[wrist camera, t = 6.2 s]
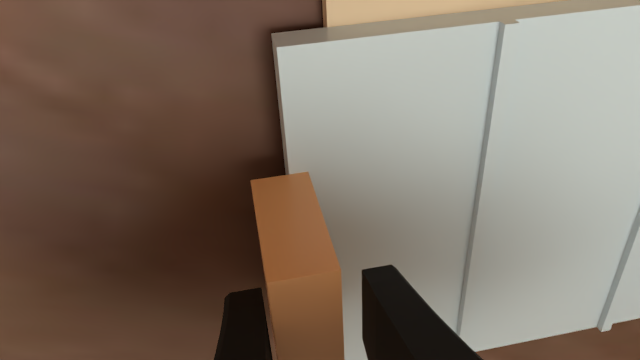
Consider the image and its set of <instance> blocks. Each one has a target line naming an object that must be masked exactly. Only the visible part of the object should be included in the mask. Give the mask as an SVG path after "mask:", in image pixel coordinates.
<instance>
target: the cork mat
mask: <svg viewBox="0 0 640 360" xmlns="http://www.w3.org/2000/svg"><path fill="white" fill-rule="evenodd" d="M558 1H567V0H322V7H323V27H336V26H345V25H354V24H362V23H371V22H380V21H389V20H398V19H407V18H416V17H425V16H433V15H442V14H451V13H460V12H469V11H478V10H487V9H496V8H504V7H513V6H522V5H531V4H540V3H549V2H558ZM638 319H639V318H638ZM633 320H634V319H633ZM628 321H629V320H628ZM623 322H624V321H623ZM618 323H619V322H618ZM613 324H614V323H613ZM594 328H595V327H594ZM589 329H590V328H589ZM584 330H585V329H584ZM579 331H580V330H579ZM574 332H575V331H574ZM545 338H546V337H545ZM540 339H541V338H540ZM535 340H536V339H535ZM491 349H492V348H491Z"/></svg>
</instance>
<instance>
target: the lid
mask: <svg viewBox="0 0 640 360" xmlns="http://www.w3.org/2000/svg"><path fill="white" fill-rule="evenodd" d="M271 36H272V46H273V56H274V65H275V75H276V85H277V95H278V104H279V114H280V124H281V134H282V143H283V153H284V163H285V172H286V175H282V176H275V177H269V178H262V179H255V180H250V181H251V188H252V195H253V202H254V208H255V215H256V222H257V229H258V235H259V242H260V249H261V256H262V262H263V269H264V276H265V282H266V289H267V296H268V303H269V309H270V316H271V323H272V329H273V336H274V342H275V349H276V355H277V360H368V358H367V355H366V351H365V347H364V343H363V340H362V270H363V269H368V268H374V267H380V266H385V265H393V266H394V267H396V268H397V269H398V271H399V272H400V273H401V274H402V275H403V277H404V278H405V279H406V280H407V281H408V282H409V284H410V285H411V286H412V287H413V288H414V289H415V290H416V292H417V293H418V294H419V295H420V296H421V297H422V298H423V299H424V301H425V302H426V303H427V304H428V305H429V306H430V307H431V308H432V309H433V310H434V311H435V312H436V313H437V315H438V316H439V317H440V318H441V319H442V320H443V321H444V322H445V323H446V324H447V325H448V326H449V327H450V328H451V329H452V330H453V331H454V332H455V333H456V334H457V335H458V336H459V337H460V338H461V339H462V340H463V341H464V342H465V343H466V344H467V345H468V346H469V347H470V348H471V349H472V350H473V351H474V352H477V351H482V350H487V349H491V348H496V347H501V346H506V345H511V344H516V343H521V342H526V341H531V340H535V339H540V338H545V337H550V336H555V335H560V334H565V333H570V332H574V331H579V330H584V329H589V328H594V327H597V328H598V329H599V330H600V331H601V332H604V331H608V330H610V329H611V326H612V324H613V323H618V322H623V321H628V320H633V319H638V318H640V0H567V1H558V2H549V3H540V4H531V5H522V6H513V7H504V8H496V9H487V10H478V11H469V12H460V13H451V14H442V15H433V16H425V17H416V18H407V19H398V20H389V21H380V22H371V23H362V24H354V25H345V26H336V27H323V28H315V29H306V30H297V31H288V32H279V33H271Z"/></svg>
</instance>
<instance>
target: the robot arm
mask: <svg viewBox="0 0 640 360" xmlns="http://www.w3.org/2000/svg"><path fill="white" fill-rule="evenodd" d="M362 340H363V343H364V347H365V351H366V355H367V358H368V360H483V359H482V358H481V357H480V356H479V355H478V354H477V353H475V352H474V351H473V350H472V349H471V348H470V347H469V346H468V345H467V344H466V343H465V342H464V341H463V340H462V339H461V338H460V337H459V336H458V335H457V334H456V333H455V332H454V331H453V330H452V329H451V328H450V327H449V326H448V325H447V324H446V323H445V322H444V321H443V320H442V319H441V318H440V317H439V316H438V315H437V313H436V312H435V311H434V310H433V309H432V308H431V307H430V306H429V305H428V304H427V303H426V302H425V301H424V299H423V298H422V297H421V296H420V295H419V294H418V293H417V292H416V290H415V289H414V288H413V287H412V286H411V285H410V284H409V282H408V281H407V280H406V279H405V278H404V277H403V275H402V274H401V273H400V272H399V271H398V269H397V268H396V267H394V266H393V265H385V266H380V267H374V268H368V269H363V270H362ZM214 360H272V353H271V347H270V341H269V334H268V328H267V321H266V315H265V308H264V302H263V296H262V289H261V288H255V289H249V290H244V291H238V292H232V293H229V294H228V295H227V296H226V297H225V301H224V312H223V319H222V325H221V331H220V336H219V340H218V344H217V349H216V353H215V357H214Z"/></svg>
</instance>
